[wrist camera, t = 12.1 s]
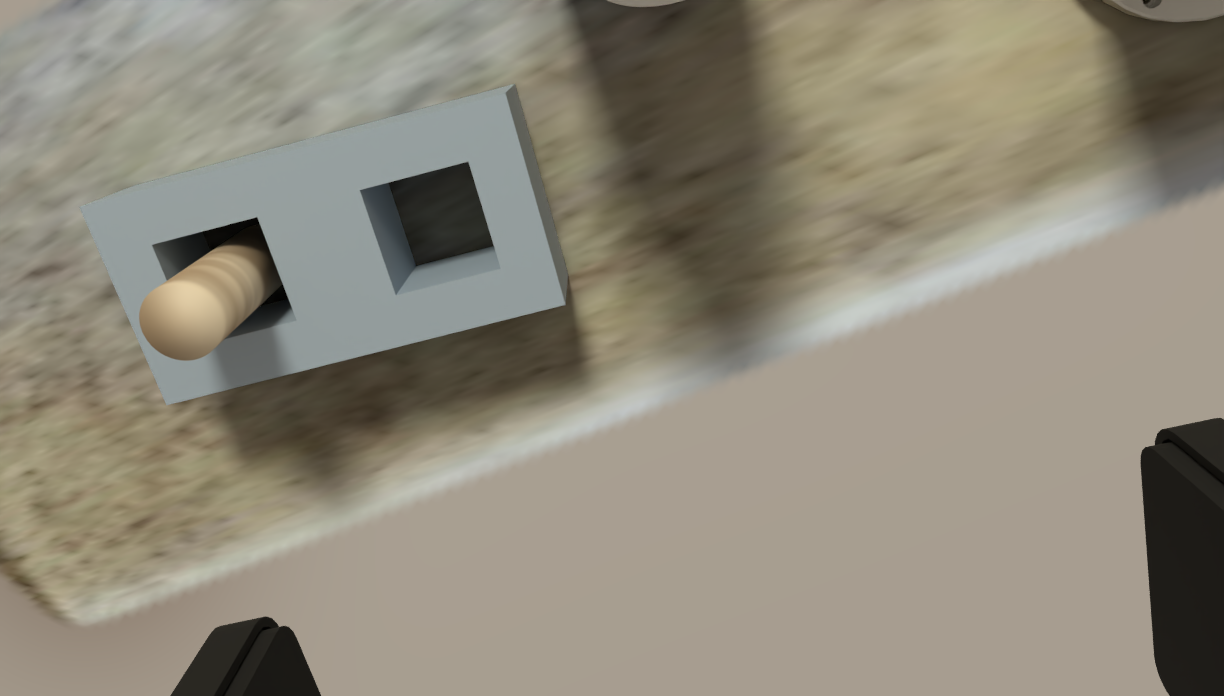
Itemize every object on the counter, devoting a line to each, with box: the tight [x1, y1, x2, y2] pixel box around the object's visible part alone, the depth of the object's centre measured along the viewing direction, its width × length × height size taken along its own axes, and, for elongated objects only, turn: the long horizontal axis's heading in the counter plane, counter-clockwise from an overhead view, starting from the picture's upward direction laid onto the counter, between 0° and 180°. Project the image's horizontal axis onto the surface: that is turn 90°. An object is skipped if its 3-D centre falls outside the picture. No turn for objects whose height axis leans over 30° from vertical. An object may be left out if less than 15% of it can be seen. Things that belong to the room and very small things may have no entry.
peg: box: [139, 224, 283, 361], centre depth 41 cm, size 3×3×10 cm
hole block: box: [80, 84, 568, 405], centre depth 43 cm, size 18×9×5 cm, turn 104°
